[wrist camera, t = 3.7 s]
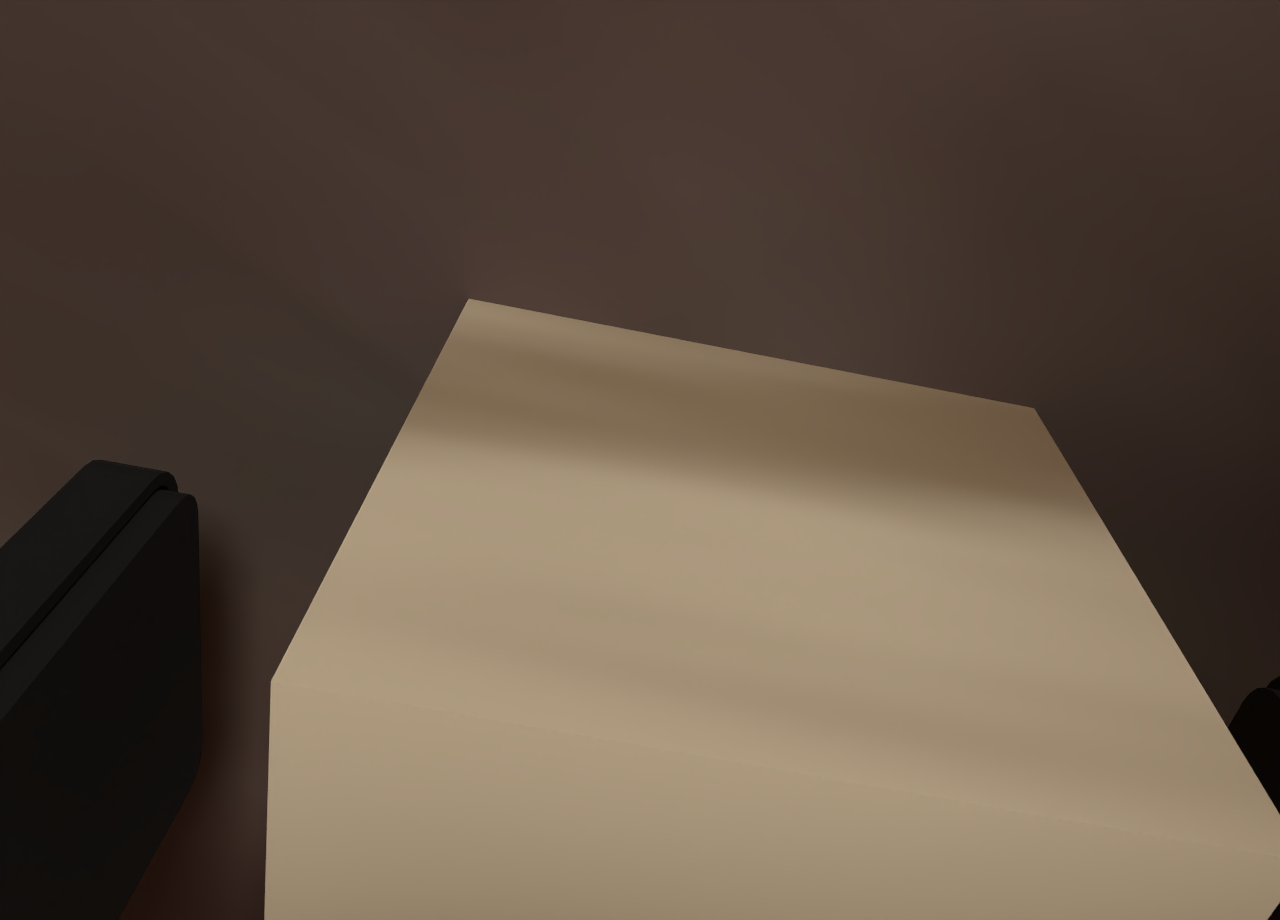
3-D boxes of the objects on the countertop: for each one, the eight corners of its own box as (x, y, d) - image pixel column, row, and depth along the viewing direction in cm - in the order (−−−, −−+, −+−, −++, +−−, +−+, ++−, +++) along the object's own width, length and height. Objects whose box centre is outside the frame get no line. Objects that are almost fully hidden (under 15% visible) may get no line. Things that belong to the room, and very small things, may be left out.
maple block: (469, 295, 9) (270, 682, 5) (1031, 404, 10) (1309, 863, 5) (419, 725, 12) (254, 1237, 7) (869, 804, 12) (966, 1344, 8)
